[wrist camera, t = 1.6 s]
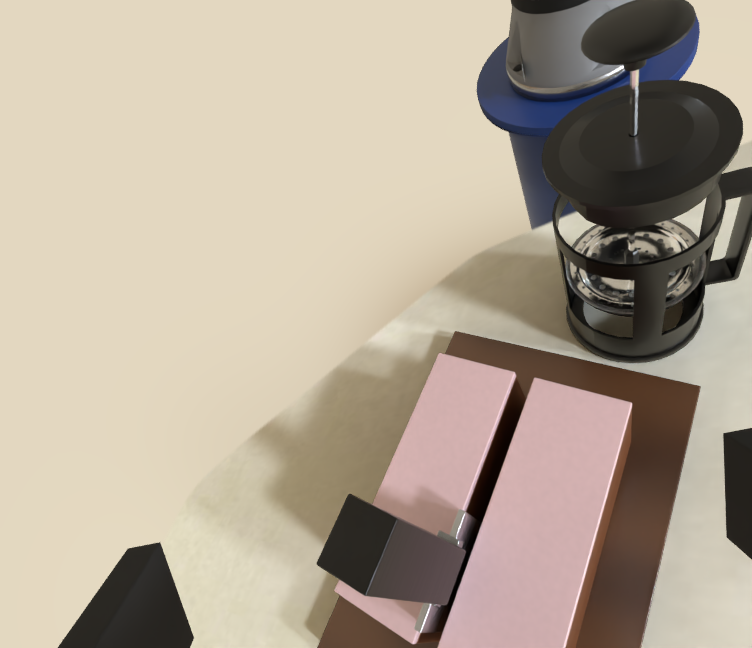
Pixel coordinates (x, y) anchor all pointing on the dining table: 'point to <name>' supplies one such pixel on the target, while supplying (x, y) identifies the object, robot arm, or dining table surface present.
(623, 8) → the french press
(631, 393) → the cake board
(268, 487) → the dining table surface
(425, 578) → the dark upright knife handle
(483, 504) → the cake
